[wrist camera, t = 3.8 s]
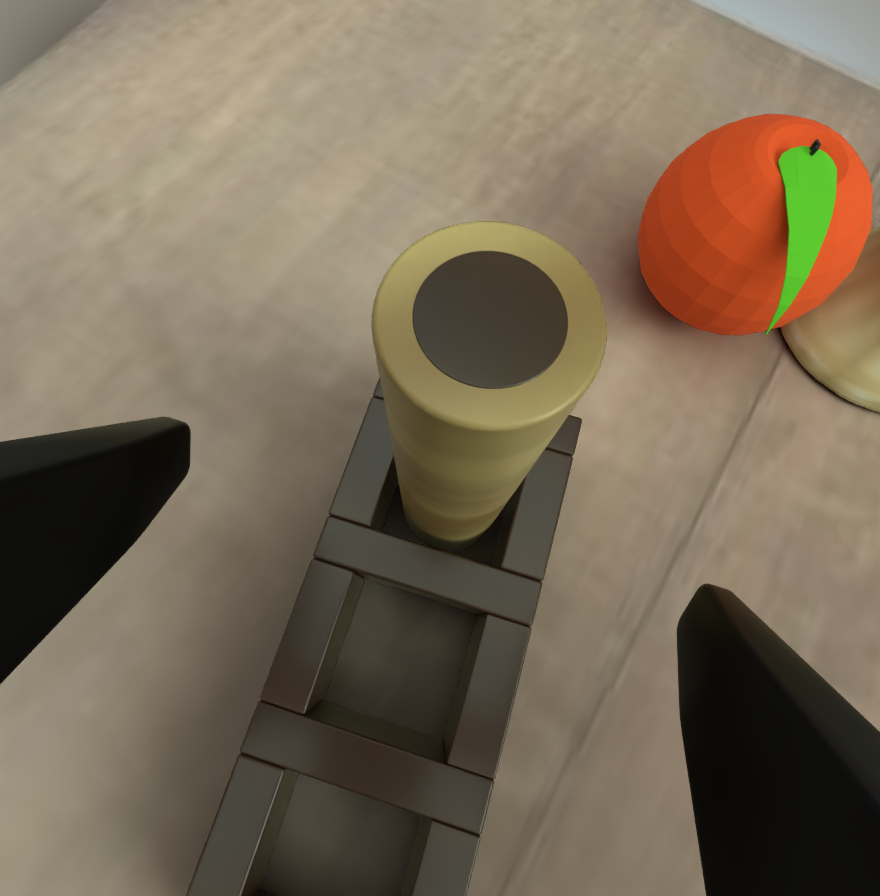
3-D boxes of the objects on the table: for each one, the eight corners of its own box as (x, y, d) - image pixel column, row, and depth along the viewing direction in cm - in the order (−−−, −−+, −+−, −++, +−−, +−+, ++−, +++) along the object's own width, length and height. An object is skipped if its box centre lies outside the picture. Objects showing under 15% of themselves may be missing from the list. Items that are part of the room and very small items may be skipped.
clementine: (789, 405, 21) (966, 301, 14) (606, 380, 21) (694, 265, 14) (779, 229, 23) (926, 68, 16) (614, 208, 23) (693, 38, 17)
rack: (418, 1008, 15) (417, 1098, 12) (197, 926, 16) (147, 995, 13) (560, 446, 20) (583, 417, 17) (390, 396, 21) (385, 359, 18)
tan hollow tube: (511, 523, 19) (656, 364, 7) (429, 567, 19) (440, 471, 7) (467, 445, 20) (532, 186, 8) (387, 485, 19) (330, 271, 8)
